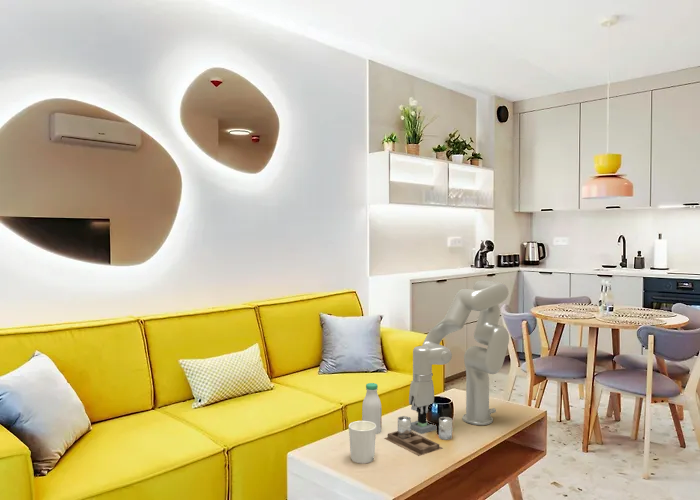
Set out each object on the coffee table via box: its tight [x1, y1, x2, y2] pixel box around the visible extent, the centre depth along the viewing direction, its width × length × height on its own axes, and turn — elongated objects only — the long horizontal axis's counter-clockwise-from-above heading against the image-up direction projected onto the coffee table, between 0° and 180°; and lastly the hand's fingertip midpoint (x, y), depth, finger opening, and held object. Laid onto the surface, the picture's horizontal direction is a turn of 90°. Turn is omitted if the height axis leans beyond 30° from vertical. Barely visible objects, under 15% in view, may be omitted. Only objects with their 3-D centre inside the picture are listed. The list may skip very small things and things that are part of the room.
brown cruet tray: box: [383, 430, 444, 457], centre depth 204 cm, size 12×20×3 cm, turn 35°
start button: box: [418, 422, 427, 427], centre depth 219 cm, size 4×4×4 cm
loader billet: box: [397, 415, 412, 440], centre depth 208 cm, size 5×5×9 cm
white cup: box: [348, 420, 377, 464], centre depth 193 cm, size 10×10×12 cm
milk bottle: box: [361, 382, 383, 435], centre depth 216 cm, size 8×8×20 cm
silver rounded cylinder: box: [438, 416, 453, 441], centre depth 209 cm, size 5×5×9 cm
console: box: [411, 420, 438, 435], centre depth 219 cm, size 8×8×3 cm
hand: (422, 422), depth 219 cm, fingers closed
